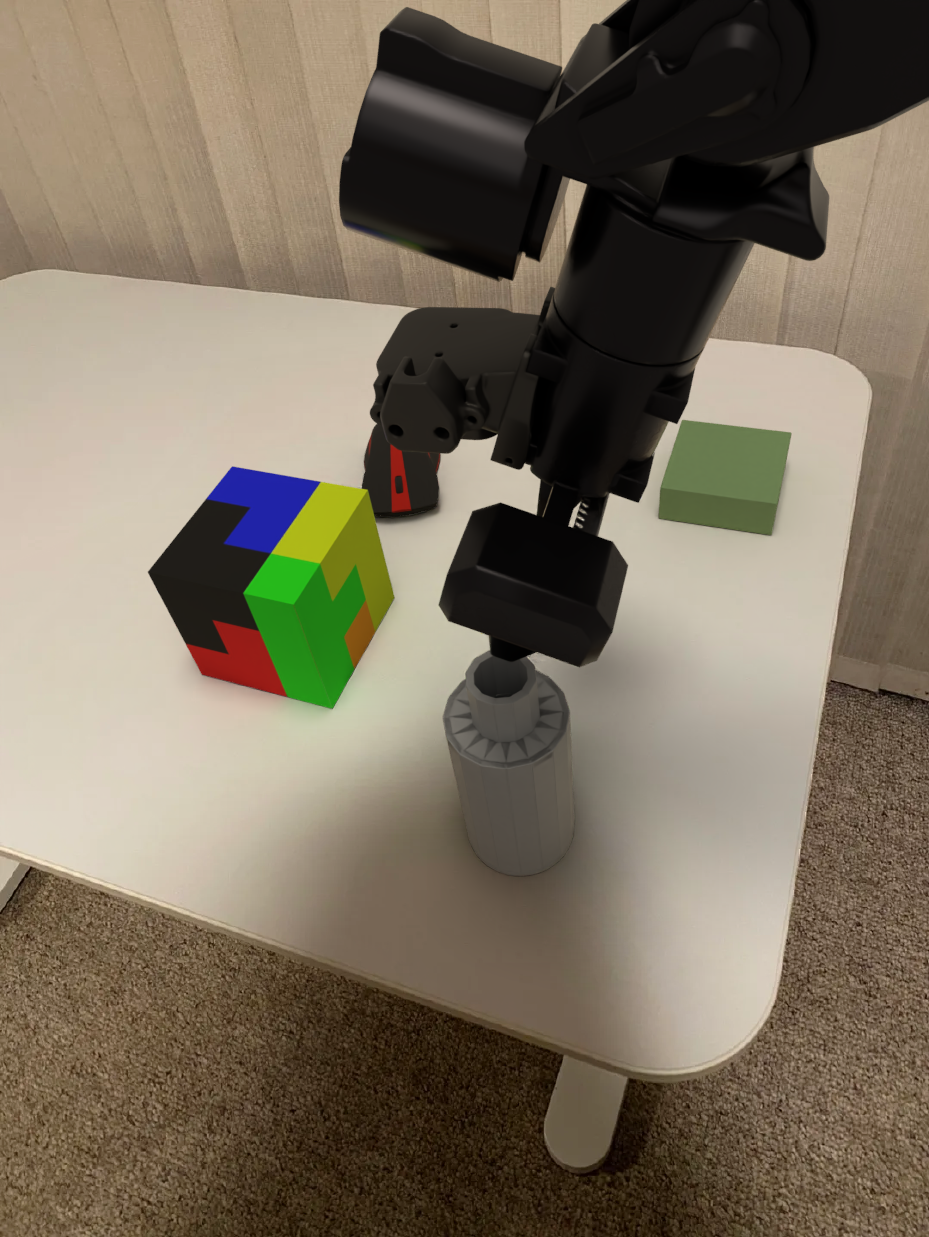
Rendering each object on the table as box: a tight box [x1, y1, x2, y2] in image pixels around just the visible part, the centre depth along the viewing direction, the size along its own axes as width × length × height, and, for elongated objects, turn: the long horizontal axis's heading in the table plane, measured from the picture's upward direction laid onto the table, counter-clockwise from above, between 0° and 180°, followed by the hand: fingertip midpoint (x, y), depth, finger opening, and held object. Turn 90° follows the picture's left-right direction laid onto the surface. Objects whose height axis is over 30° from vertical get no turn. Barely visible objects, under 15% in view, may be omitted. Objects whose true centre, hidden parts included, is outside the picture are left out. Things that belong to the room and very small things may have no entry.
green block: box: [657, 419, 792, 536], centre depth 68 cm, size 8×8×3 cm
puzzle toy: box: [147, 465, 396, 710], centre depth 60 cm, size 10×10×10 cm
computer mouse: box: [361, 423, 441, 518], centre depth 72 cm, size 6×11×4 cm, turn 4°
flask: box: [442, 650, 576, 877], centre depth 47 cm, size 6×6×14 cm
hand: (525, 584), depth 45 cm, fingers open, 9 cm apart
